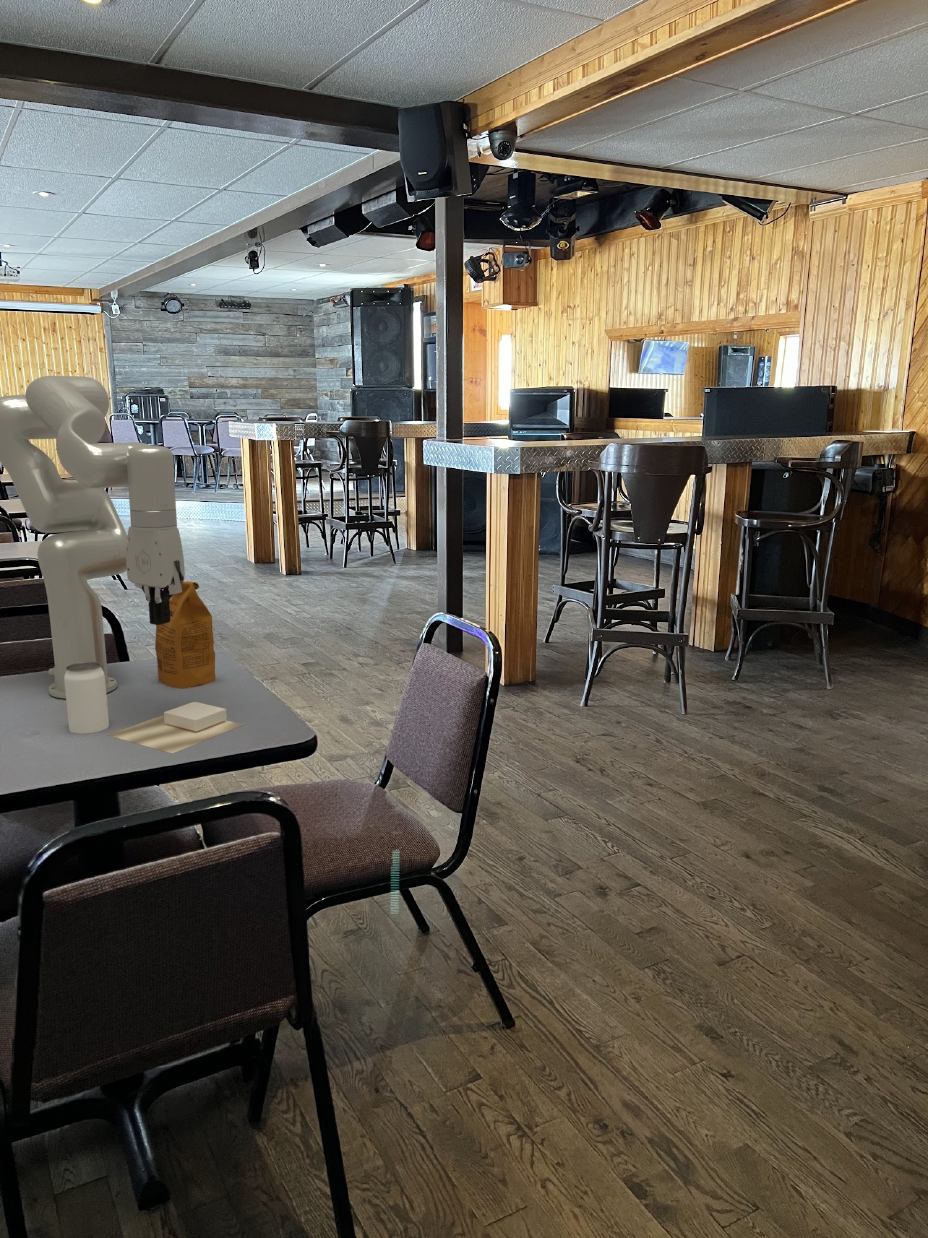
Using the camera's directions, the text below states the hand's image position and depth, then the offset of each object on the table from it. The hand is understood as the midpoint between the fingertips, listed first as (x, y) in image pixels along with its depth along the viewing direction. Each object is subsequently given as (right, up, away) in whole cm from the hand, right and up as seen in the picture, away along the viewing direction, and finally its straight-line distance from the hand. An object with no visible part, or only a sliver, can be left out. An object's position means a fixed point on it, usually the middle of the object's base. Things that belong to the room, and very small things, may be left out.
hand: (160, 622), depth 162 cm
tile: (+3, -16, +2) cm, 16 cm away
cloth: (+4, -19, -3) cm, 20 cm away
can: (-12, -19, -2) cm, 23 cm away
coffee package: (-3, -13, +26) cm, 30 cm away
